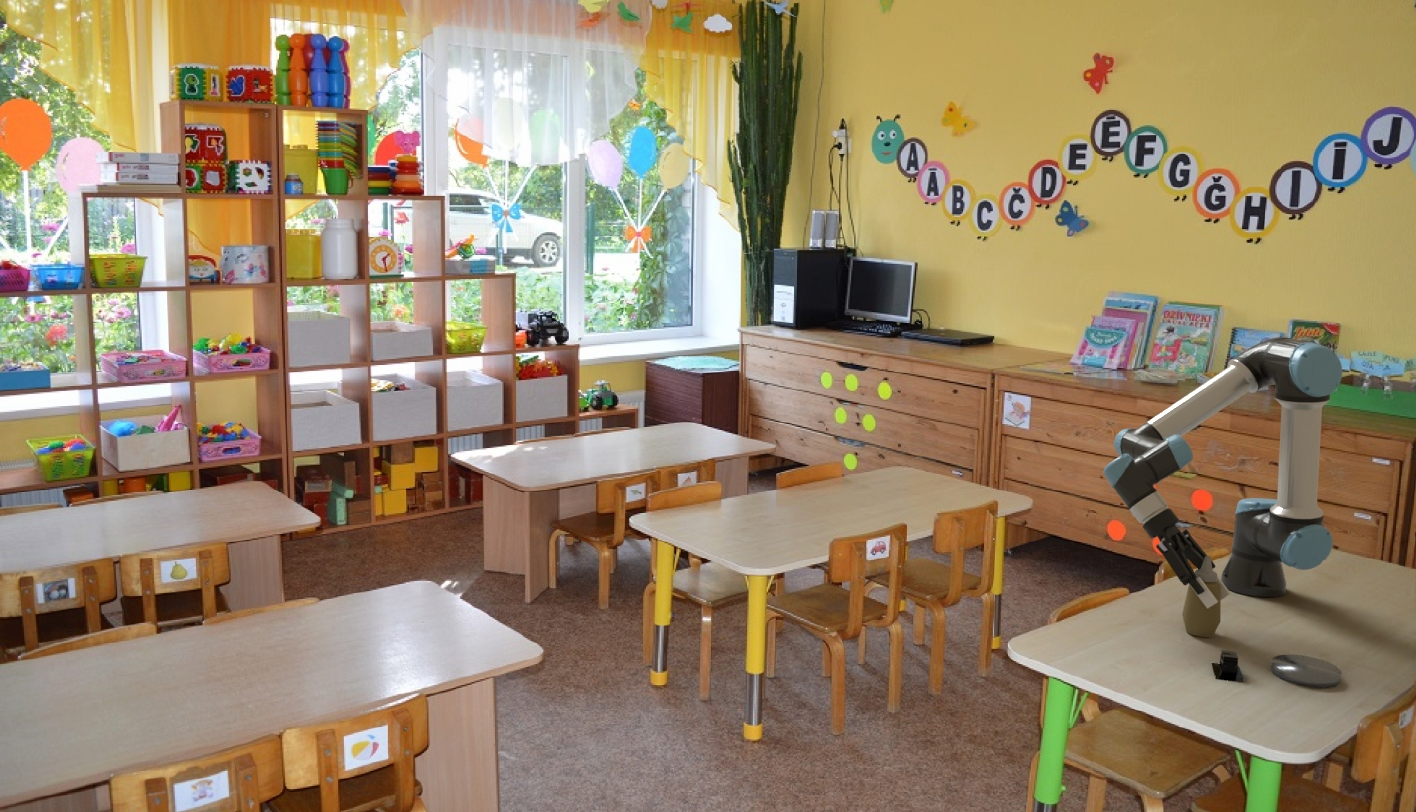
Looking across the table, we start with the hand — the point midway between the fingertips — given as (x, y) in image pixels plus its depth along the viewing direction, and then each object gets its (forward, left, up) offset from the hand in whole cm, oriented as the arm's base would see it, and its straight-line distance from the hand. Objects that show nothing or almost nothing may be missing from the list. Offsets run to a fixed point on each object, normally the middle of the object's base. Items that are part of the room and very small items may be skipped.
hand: (1219, 601), depth 269 cm
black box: (+17, +12, -9) cm, 23 cm away
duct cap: (+5, +23, -9) cm, 25 cm away
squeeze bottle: (+1, -3, -9) cm, 9 cm away
